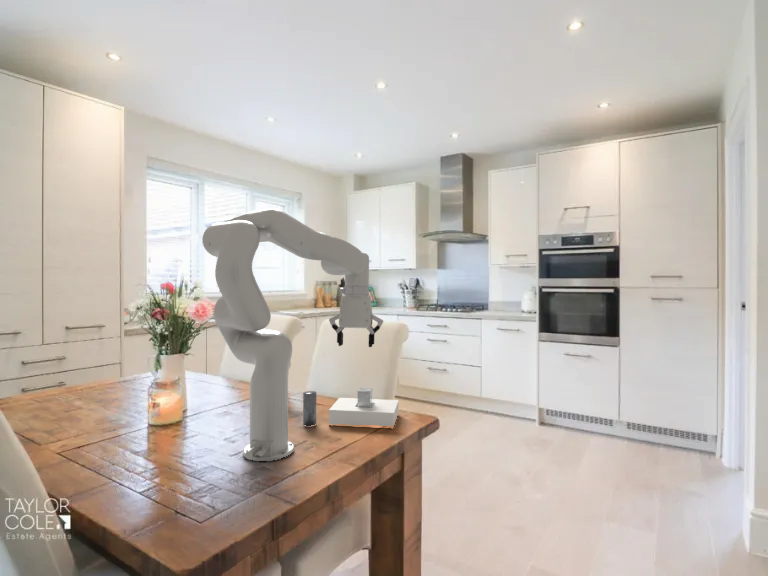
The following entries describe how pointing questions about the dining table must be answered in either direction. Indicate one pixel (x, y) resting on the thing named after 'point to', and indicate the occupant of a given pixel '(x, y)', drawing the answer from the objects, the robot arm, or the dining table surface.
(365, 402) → the square peg
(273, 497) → the dining table surface
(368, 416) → the block
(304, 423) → the round peg
